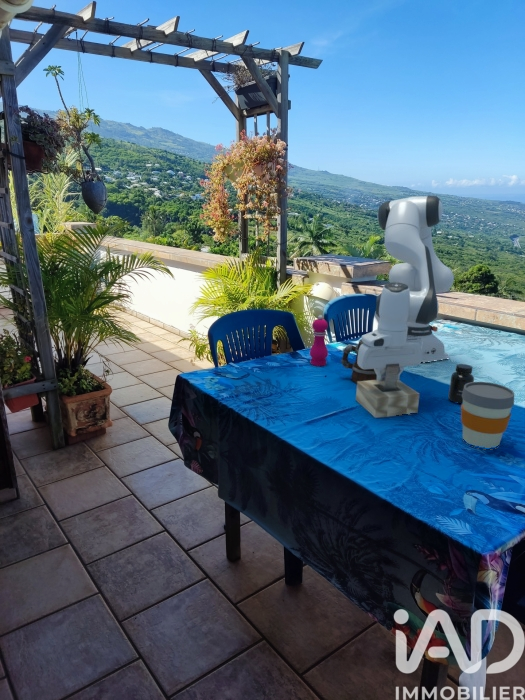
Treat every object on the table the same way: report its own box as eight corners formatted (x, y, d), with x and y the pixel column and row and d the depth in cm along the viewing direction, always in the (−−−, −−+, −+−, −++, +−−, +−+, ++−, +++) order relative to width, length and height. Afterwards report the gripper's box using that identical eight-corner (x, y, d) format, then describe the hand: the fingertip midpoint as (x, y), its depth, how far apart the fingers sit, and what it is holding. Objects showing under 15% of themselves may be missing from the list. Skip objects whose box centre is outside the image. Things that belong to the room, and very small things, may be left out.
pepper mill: (327, 361, 193) (329, 313, 187) (327, 366, 186) (330, 317, 180) (309, 360, 193) (311, 313, 188) (309, 366, 187) (311, 317, 181)
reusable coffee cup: (482, 456, 119) (491, 402, 115) (445, 435, 130) (452, 385, 126) (517, 447, 124) (526, 394, 120) (479, 427, 135) (486, 378, 131)
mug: (383, 376, 176) (387, 337, 172) (383, 388, 165) (386, 346, 160) (341, 372, 180) (343, 334, 175) (338, 383, 169) (340, 343, 164)
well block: (394, 396, 157) (396, 378, 155) (417, 413, 144) (419, 393, 142) (355, 400, 154) (357, 381, 152) (375, 417, 141) (377, 397, 139)
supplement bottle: (460, 406, 150) (465, 370, 146) (443, 398, 156) (447, 364, 152) (475, 402, 153) (480, 367, 149) (458, 395, 159) (462, 361, 155)
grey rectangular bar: (389, 395, 151) (392, 359, 147) (395, 400, 147) (399, 363, 143) (377, 396, 150) (380, 360, 146) (383, 401, 146) (386, 364, 142)
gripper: (416, 332, 148) (412, 374, 152) (356, 336, 143) (353, 379, 147) (428, 338, 142) (423, 380, 146) (365, 342, 137) (362, 386, 141)
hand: (387, 380), depth 147 cm, fingers closed on grey rectangular bar, 4 cm apart
